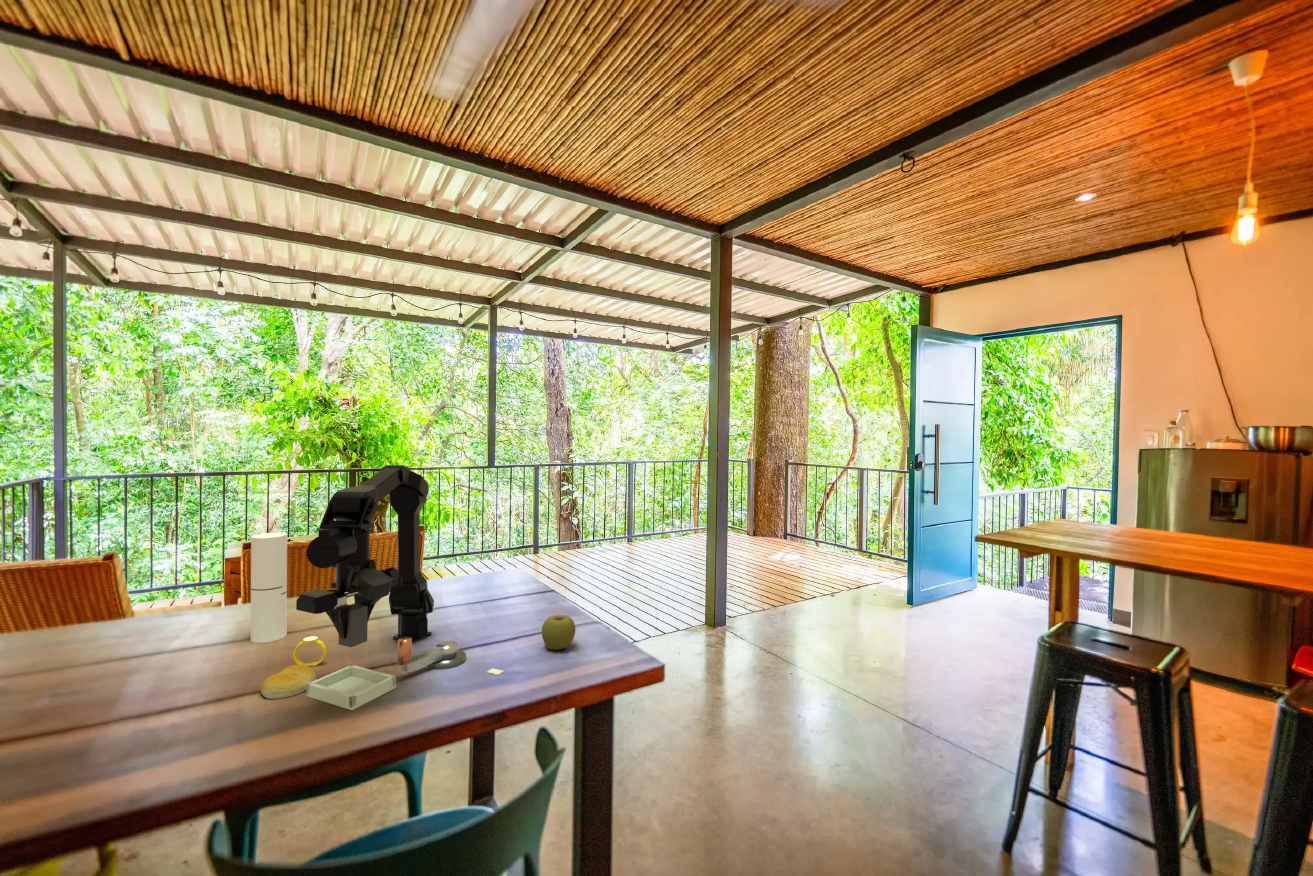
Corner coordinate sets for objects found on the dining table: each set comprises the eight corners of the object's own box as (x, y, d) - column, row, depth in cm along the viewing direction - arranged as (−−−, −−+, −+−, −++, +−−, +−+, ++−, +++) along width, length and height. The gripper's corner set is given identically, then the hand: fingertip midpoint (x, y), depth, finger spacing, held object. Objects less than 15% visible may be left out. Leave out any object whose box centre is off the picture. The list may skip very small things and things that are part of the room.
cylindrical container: (243, 640, 131) (244, 536, 130) (274, 630, 137) (274, 531, 137) (263, 645, 128) (263, 539, 128) (293, 634, 135) (293, 534, 134)
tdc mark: (486, 673, 115) (486, 671, 115) (492, 669, 117) (492, 668, 117) (498, 675, 114) (498, 674, 114) (503, 672, 115) (503, 671, 115)
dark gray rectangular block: (338, 644, 105) (338, 608, 105) (354, 638, 108) (355, 603, 108) (351, 647, 104) (351, 611, 103) (367, 641, 107) (367, 605, 107)
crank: (449, 649, 124) (449, 620, 123) (461, 654, 121) (461, 624, 121) (392, 671, 112) (392, 639, 112) (404, 676, 110) (405, 643, 110)
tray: (352, 710, 99) (352, 697, 99) (306, 696, 104) (306, 684, 104) (396, 687, 108) (396, 676, 108) (352, 675, 113) (352, 664, 113)
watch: (326, 662, 120) (329, 635, 120) (322, 668, 117) (325, 640, 117) (295, 663, 118) (298, 636, 118) (290, 669, 115) (293, 641, 115)
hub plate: (418, 664, 118) (418, 660, 118) (446, 651, 126) (446, 647, 126) (446, 671, 115) (447, 667, 115) (473, 657, 123) (473, 653, 123)
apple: (568, 655, 124) (568, 624, 124) (535, 652, 126) (536, 621, 126) (579, 643, 132) (580, 613, 132) (548, 640, 134) (549, 611, 133)
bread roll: (250, 698, 103) (250, 677, 103) (290, 677, 112) (290, 658, 112) (287, 703, 102) (287, 682, 102) (325, 681, 110) (325, 662, 110)
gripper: (336, 571, 94) (336, 661, 94) (422, 549, 111) (421, 625, 111) (294, 564, 98) (294, 649, 99) (383, 544, 115) (382, 617, 116)
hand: (352, 634), depth 106 cm, fingers closed on dark gray rectangular block, 3 cm apart
